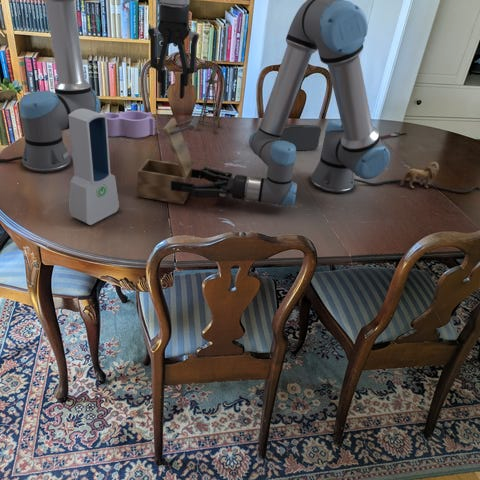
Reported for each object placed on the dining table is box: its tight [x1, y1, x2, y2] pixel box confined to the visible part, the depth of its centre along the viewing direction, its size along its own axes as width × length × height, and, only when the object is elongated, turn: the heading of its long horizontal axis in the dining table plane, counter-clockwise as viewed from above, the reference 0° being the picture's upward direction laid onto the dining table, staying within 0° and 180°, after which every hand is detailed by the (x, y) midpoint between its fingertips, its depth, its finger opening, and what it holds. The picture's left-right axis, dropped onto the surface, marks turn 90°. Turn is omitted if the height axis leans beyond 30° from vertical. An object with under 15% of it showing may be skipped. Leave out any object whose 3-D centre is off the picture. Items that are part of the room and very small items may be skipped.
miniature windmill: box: [196, 58, 221, 133], centre depth 195 cm, size 9×8×30 cm
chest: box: [137, 158, 193, 205], centre depth 147 cm, size 15×10×9 cm
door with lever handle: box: [162, 115, 200, 177], centre depth 139 cm, size 16×10×9 cm
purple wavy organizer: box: [102, 110, 156, 139], centre depth 189 cm, size 20×12×7 cm, turn 109°
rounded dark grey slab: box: [280, 124, 322, 151], centre depth 189 cm, size 23×3×10 cm, turn 108°
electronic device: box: [68, 109, 120, 226], centre depth 127 cm, size 12×8×30 cm, turn 148°
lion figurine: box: [399, 161, 440, 189], centre depth 170 cm, size 15×5×9 cm, turn 110°
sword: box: [380, 132, 406, 140], centre depth 214 cm, size 31×3×1 cm, turn 126°
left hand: (172, 95), depth 132 cm, fingers open, 5 cm apart
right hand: (175, 178), depth 146 cm, fingers closed on chest, 10 cm apart
